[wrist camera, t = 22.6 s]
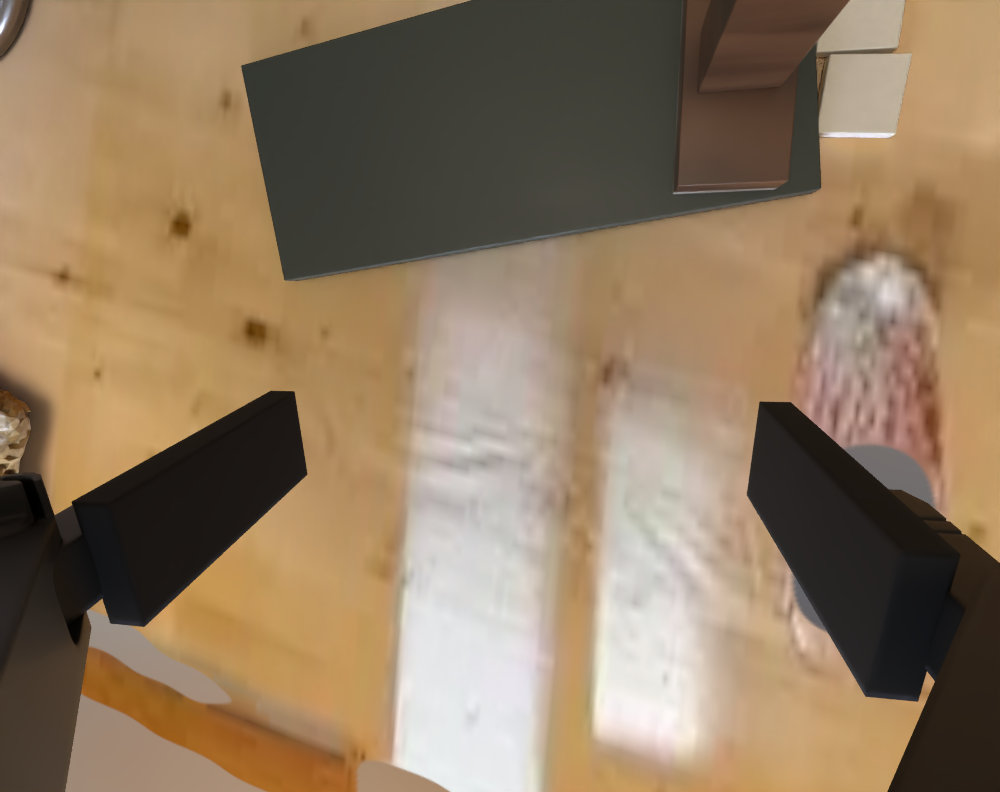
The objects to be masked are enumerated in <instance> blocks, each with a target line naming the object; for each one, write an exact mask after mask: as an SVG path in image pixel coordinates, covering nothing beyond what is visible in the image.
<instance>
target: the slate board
mask: <svg viewBox="0 0 1000 792" xmlns="http://www.w3.org/2000/svg"><path fill="white" fill-rule="evenodd" d="M681 17H682V0H471V1H467V2H464V3H460V4H457V5H453V6H450V7H446V8H443V9H439V10H436V11H432V12H429V13H425V14H421V15H418V16H414V17H411V18H407V19H404V20H400V21H397V22H393V23H390V24H386V25H383V26H379V27H376V28H372V29H369V30H365V31H362V32H358V33H355V34H351V35H347V36H344V37H340V38H337V39H333V40H330V41H326V42H323V43H319V44H316V45H312V46H309V47H305V48H302V49H298V50H295V51H291V52H288V53H284V54H281V55H277V56H274V57H270V58H266V59H263V60H259V61H256V62H252V63H249V64H245V65H242V66H241V67H242V72H243V77H244V82H245V87H246V92H247V97H248V102H249V107H250V112H251V117H252V122H253V127H254V132H255V137H256V142H257V147H258V152H259V156H260V161H261V166H262V171H263V176H264V181H265V186H266V191H267V196H268V201H269V206H270V211H271V216H272V221H273V226H274V231H275V236H276V241H277V245H278V250H279V255H280V260H281V265H282V270H283V275H284V280H285V281H299V280H305V279H311V278H317V277H323V276H329V275H335V274H341V273H346V272H352V271H358V270H364V269H370V268H376V267H382V266H388V265H394V264H399V263H405V262H411V261H417V260H423V259H429V258H435V257H441V256H446V255H452V254H458V253H464V252H470V251H476V250H482V249H488V248H494V247H499V246H505V245H511V244H517V243H523V242H529V241H535V240H541V239H546V238H552V237H558V236H564V235H570V234H576V233H582V232H588V231H594V230H599V229H605V228H611V227H617V226H623V225H629V224H635V223H641V222H646V221H652V220H658V219H664V218H670V217H676V216H682V215H688V214H694V213H699V212H705V211H711V210H717V209H723V208H729V207H735V206H741V205H747V204H752V203H758V202H764V201H770V200H776V199H782V198H788V197H794V196H799V195H805V194H811V193H813V192H815V191H817V190H819V189H821V170H820V145H819V120H818V94H817V69H816V43H815V45H814V46H813V47H812V48H811V50H810V51H809V52H808V53H807V55H806V56H805V57H804V58H803V59H802V61H801V62H800V63H799V67H798V79H797V90H796V101H795V112H794V124H793V135H792V146H791V157H790V168H789V180H788V181H787V182H785V183H784V184H782V185H781V186H779V187H778V188H776V189H774V190H756V191H734V192H713V193H691V194H673V177H674V157H675V137H676V117H677V97H678V77H679V57H680V37H681Z"/></svg>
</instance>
